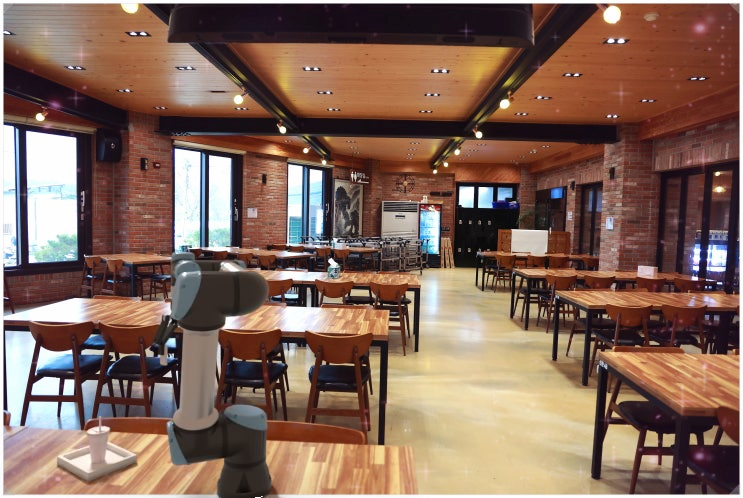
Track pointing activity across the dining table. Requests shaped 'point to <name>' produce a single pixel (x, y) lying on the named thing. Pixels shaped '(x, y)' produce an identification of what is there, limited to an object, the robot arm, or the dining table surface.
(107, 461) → the tray
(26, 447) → the dining table surface
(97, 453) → the smoothie
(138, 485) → the dining table surface
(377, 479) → the dining table surface
